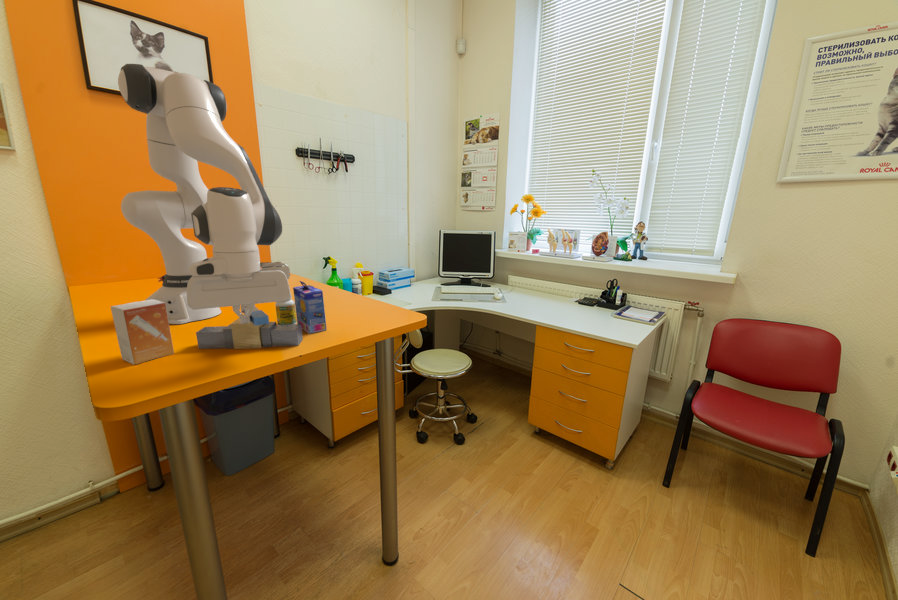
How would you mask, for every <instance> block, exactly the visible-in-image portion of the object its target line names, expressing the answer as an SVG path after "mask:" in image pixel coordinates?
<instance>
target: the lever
mask: <svg viewBox="0 0 898 600" xmlns="http://www.w3.org/2000/svg"><path fill="white" fill-rule="evenodd" d="M248 310H249V309H247V305H240V312H241V313H242V314H244V313H245V314H247V312H248ZM269 318H270V317H269V315H268V314H267V313H266V312H265V311H263V310H262V309H259V308H258V307H257V306H256V304H254V309H253V311H252V313H251V315H250V321H251V322H252V323H253V324H254V325H255V326H257V325H262V324H268V323H269V322H270V319H269Z"/></svg>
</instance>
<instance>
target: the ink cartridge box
mask: <svg viewBox="0 0 898 600" xmlns="http://www.w3.org/2000/svg"><path fill="white" fill-rule="evenodd" d="M299 283H300V284H301V286H294V287H292V290H293V297H294V298H293V299H294V302H295V311H296V320H297V323H296V325H297V324H301V325H302V331H303V330H304V331H305V332H306V333H307V334H314V333H319V332H324V331H327V330H328V329H327V320H326V312H325V311H326V310H325V302H324V293H323V290H322V289H321V288H317V287H315V286H313V285H310V284H308V285H307V284H306V283H305V282H304V281H301V280H299Z"/></svg>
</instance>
